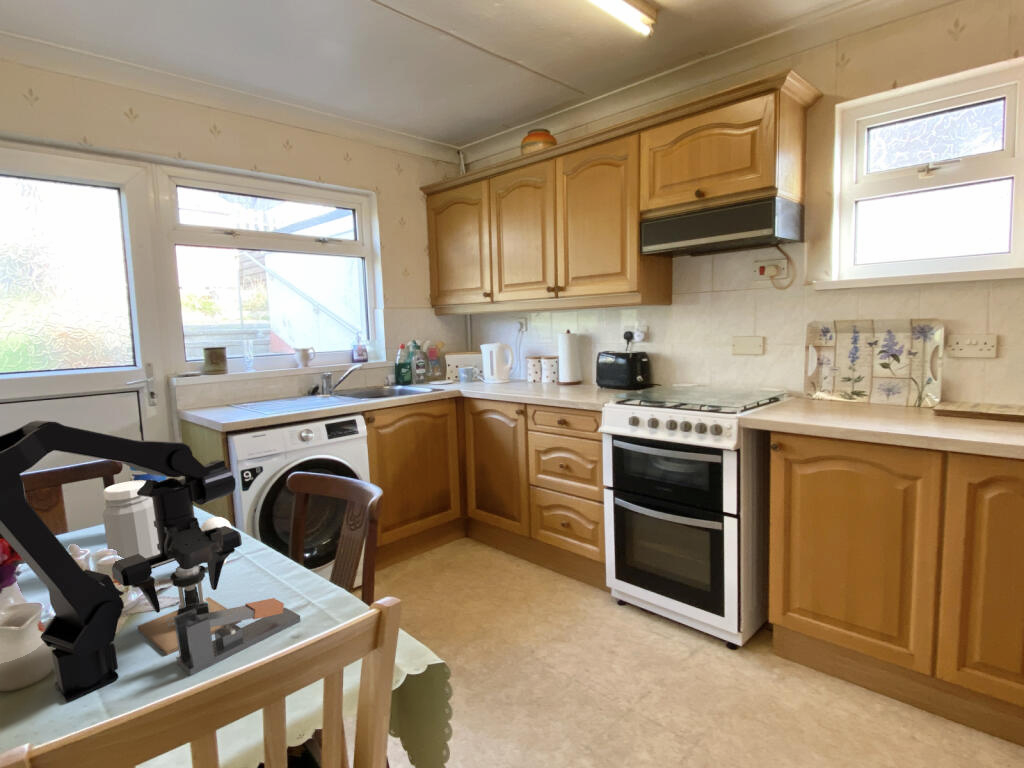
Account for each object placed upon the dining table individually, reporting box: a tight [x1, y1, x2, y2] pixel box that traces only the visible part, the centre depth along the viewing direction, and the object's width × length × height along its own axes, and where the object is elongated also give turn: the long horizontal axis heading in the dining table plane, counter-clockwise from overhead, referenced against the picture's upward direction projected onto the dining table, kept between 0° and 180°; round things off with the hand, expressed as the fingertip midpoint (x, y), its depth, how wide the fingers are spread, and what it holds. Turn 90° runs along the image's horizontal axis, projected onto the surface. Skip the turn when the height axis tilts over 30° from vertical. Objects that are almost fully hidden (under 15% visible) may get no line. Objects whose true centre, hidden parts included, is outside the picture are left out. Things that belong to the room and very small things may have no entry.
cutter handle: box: [195, 597, 285, 628], centre depth 94 cm, size 13×3×2 cm, turn 141°
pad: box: [137, 596, 242, 656], centre depth 100 cm, size 12×13×1 cm
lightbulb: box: [200, 516, 233, 566], centre depth 123 cm, size 6×6×11 cm
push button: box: [167, 564, 209, 626], centre depth 99 cm, size 7×5×10 cm
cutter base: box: [174, 607, 301, 676], centre depth 94 cm, size 18×5×8 cm, turn 141°
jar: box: [102, 480, 160, 558], centre depth 126 cm, size 10×10×18 cm
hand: (186, 600), depth 99 cm, fingers open, 9 cm apart
